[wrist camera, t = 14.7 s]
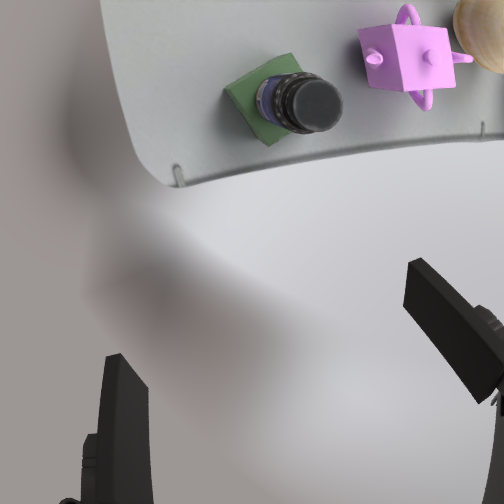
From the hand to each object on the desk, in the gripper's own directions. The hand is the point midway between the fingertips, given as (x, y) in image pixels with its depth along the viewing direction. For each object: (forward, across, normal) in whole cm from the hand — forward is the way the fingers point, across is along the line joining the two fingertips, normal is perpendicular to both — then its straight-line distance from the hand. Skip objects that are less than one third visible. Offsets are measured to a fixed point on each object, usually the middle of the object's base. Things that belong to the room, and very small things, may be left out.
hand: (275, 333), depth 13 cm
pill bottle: (+27, +10, +6) cm, 29 cm away
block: (+32, +10, +6) cm, 34 cm away
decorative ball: (+32, +49, +16) cm, 61 cm away
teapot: (+32, +29, +10) cm, 44 cm away
